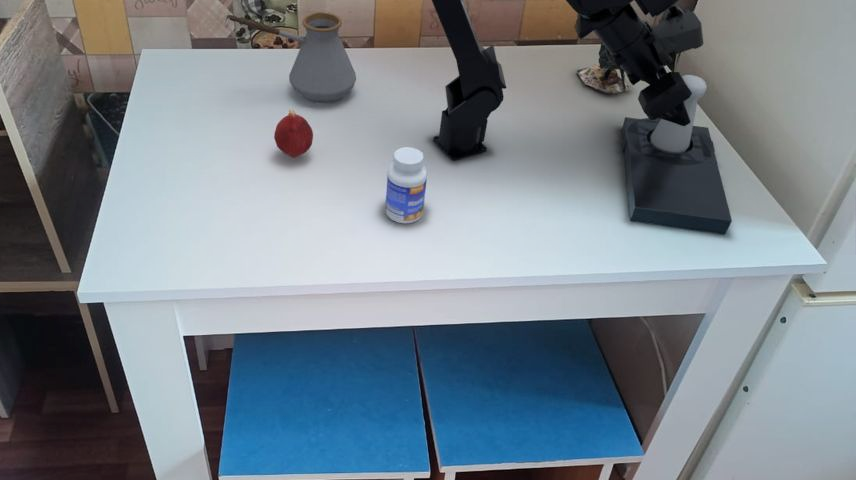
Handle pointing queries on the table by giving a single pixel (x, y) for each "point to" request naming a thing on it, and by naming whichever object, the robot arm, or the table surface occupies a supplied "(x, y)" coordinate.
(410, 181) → the pill bottle
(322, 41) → the coffee pot
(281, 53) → the table surface
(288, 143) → the onion
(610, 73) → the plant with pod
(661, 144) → the white rounded peg
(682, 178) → the plate
